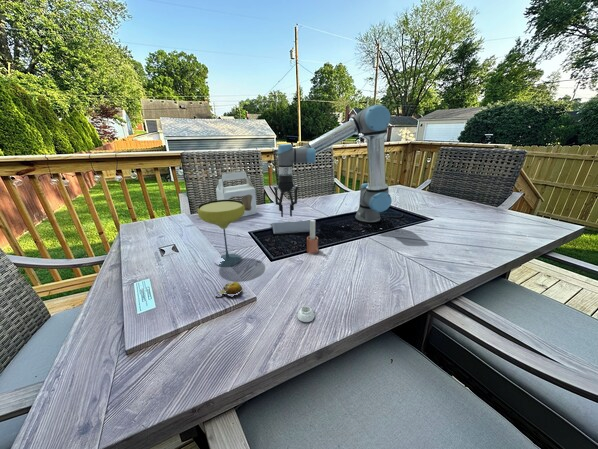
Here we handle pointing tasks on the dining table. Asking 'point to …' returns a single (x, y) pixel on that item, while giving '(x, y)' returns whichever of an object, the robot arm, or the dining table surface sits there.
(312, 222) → the stylus
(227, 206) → the cocktail glass
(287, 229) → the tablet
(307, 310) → the lidless jar
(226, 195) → the gable box
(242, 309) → the dining table surface
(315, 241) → the pen cup
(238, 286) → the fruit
